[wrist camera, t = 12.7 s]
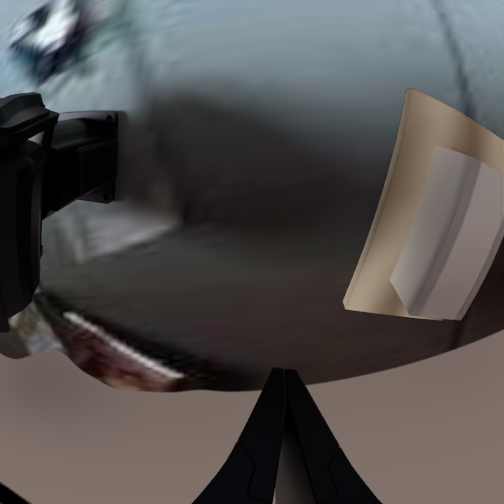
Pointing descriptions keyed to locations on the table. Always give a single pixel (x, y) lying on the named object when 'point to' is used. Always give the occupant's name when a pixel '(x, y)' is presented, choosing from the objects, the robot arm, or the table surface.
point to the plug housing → (451, 237)
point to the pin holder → (412, 194)
